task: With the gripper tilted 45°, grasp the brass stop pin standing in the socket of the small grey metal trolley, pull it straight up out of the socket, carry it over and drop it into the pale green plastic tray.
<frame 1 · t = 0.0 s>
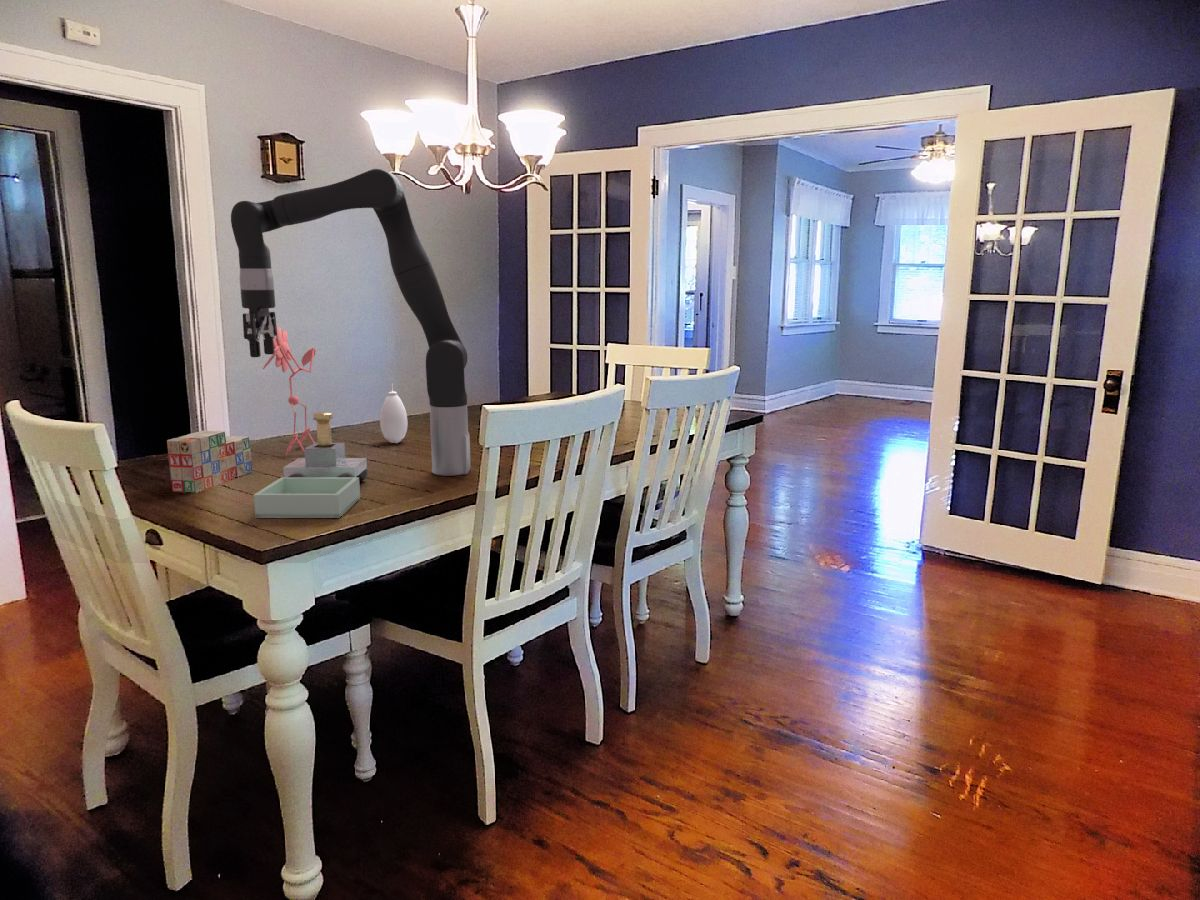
hand: (262, 355, 199), 29 cm above the table, tool pointing down, fingers open, 8 cm apart
figurine: (288, 452, 229), on the table
sauce bottle: (394, 443, 242), on the table
stack of blocks: (214, 482, 195), on the table
trolley: (327, 487, 189), on the table
tray: (310, 508, 172), on the table
stop pin: (325, 462, 188), point 6 cm above the table, touching trolley
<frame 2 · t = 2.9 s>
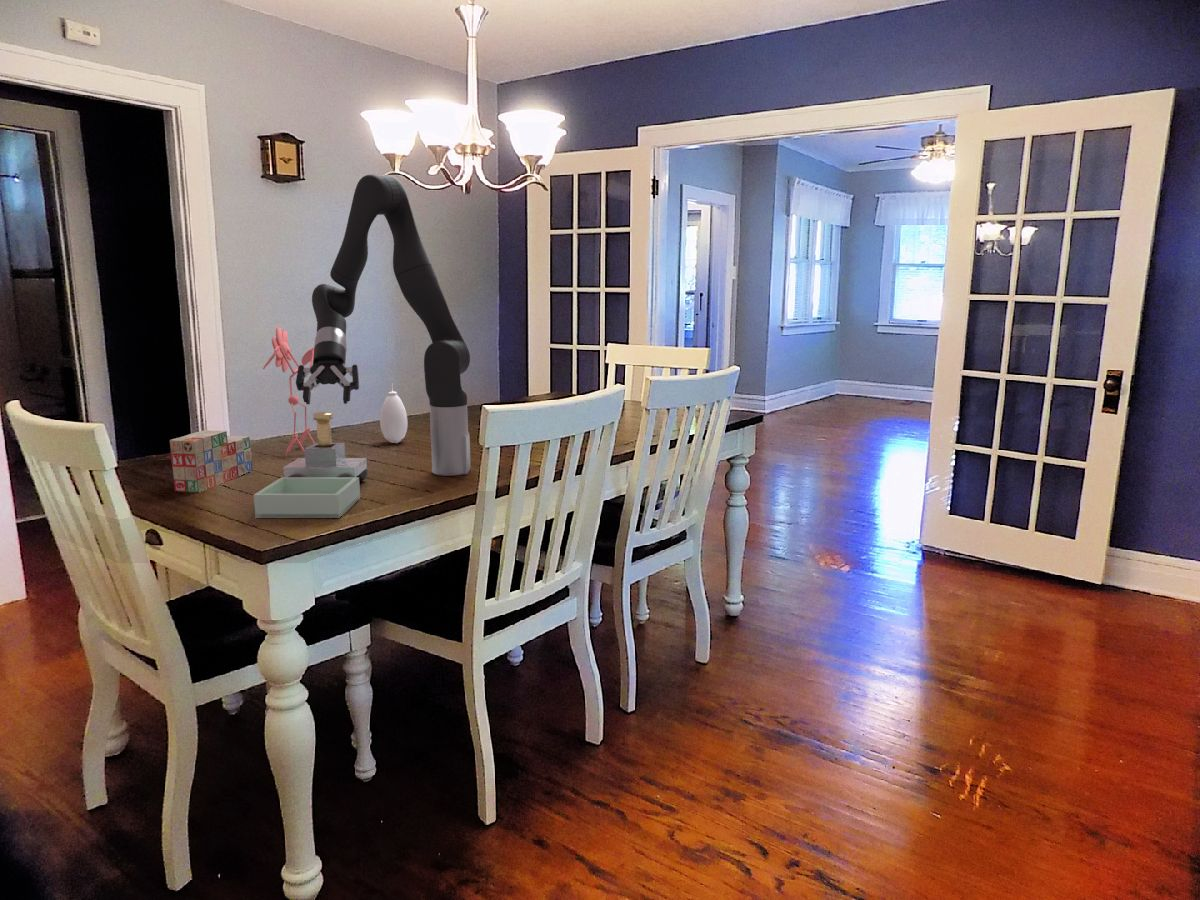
hand: (326, 402, 192), 19 cm above the table, tool tilted 45°, fingers open, 8 cm apart
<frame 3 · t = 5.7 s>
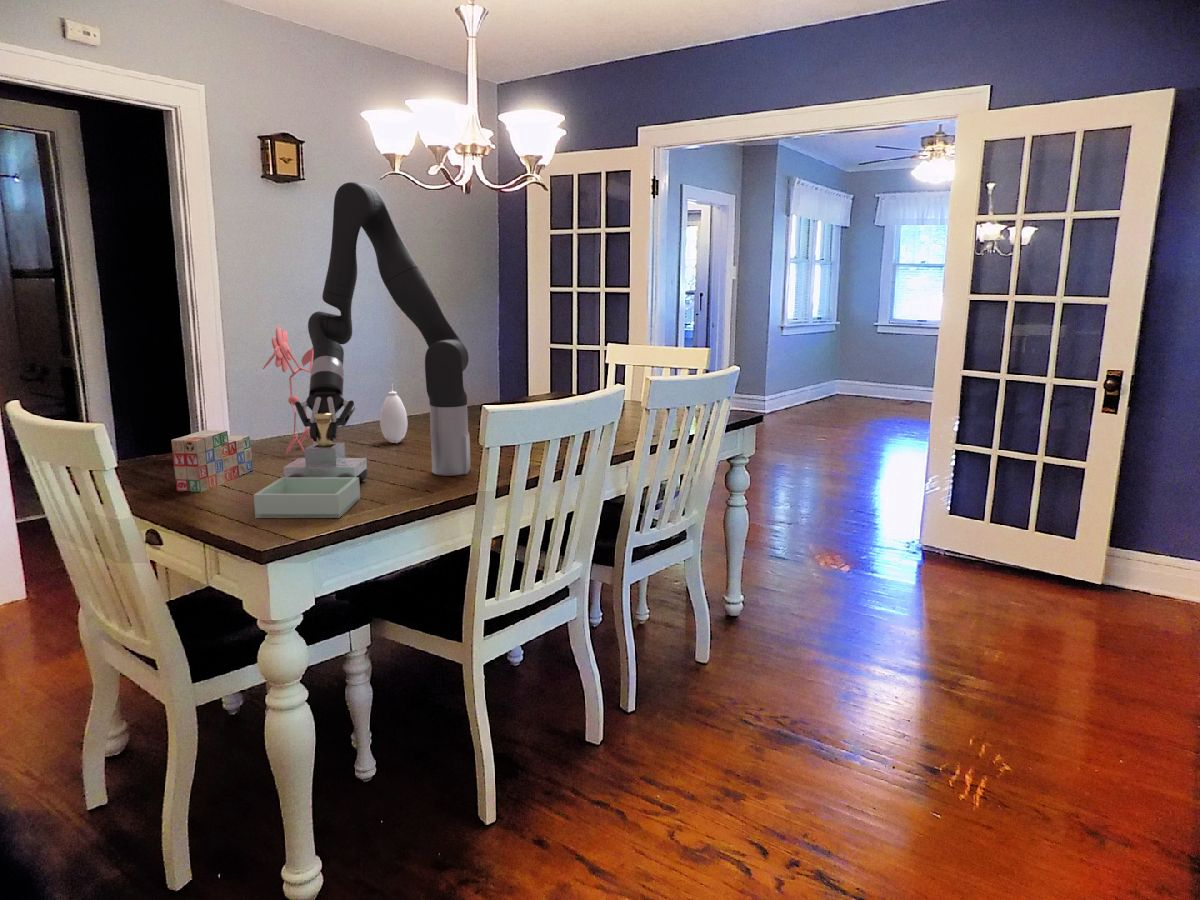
hand: (323, 438, 185), 12 cm above the table, tool tilted 45°, fingers closed on stop pin, 3 cm apart
stop pin: (325, 462, 188), point 6 cm above the table, touching gripper, trolley
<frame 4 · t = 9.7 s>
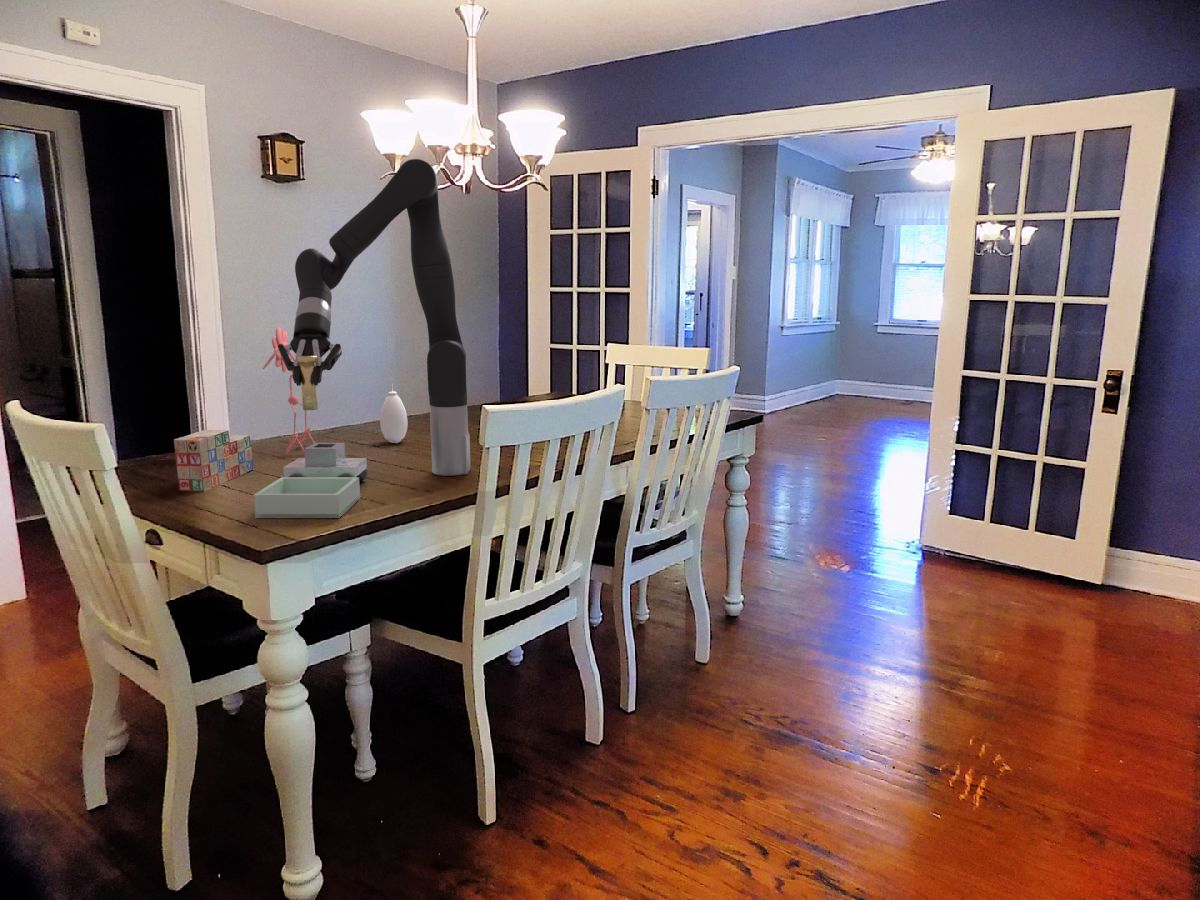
hand: (306, 383, 173), 26 cm above the table, tool tilted 45°, fingers closed on stop pin, 3 cm apart
stop pin: (310, 409, 176), point 20 cm above the table, touching gripper
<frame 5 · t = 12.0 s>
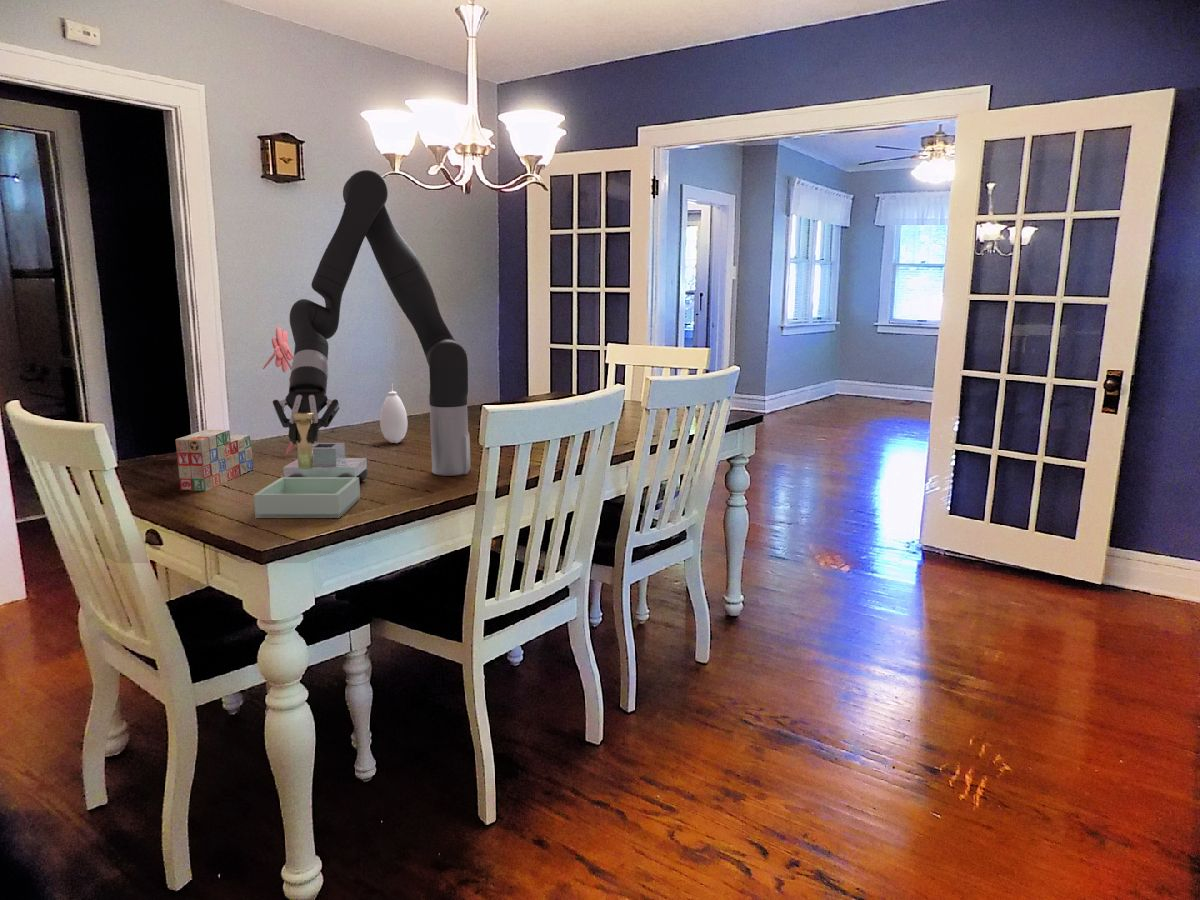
hand: (303, 441, 167), 15 cm above the table, tool tilted 45°, fingers closed on stop pin, 3 cm apart
stop pin: (306, 467, 170), point 9 cm above the table, touching gripper
when the fingers open (9 cm above the table, at t = 13.6 s): stop pin drops 1 cm and tips over, resting on tray.
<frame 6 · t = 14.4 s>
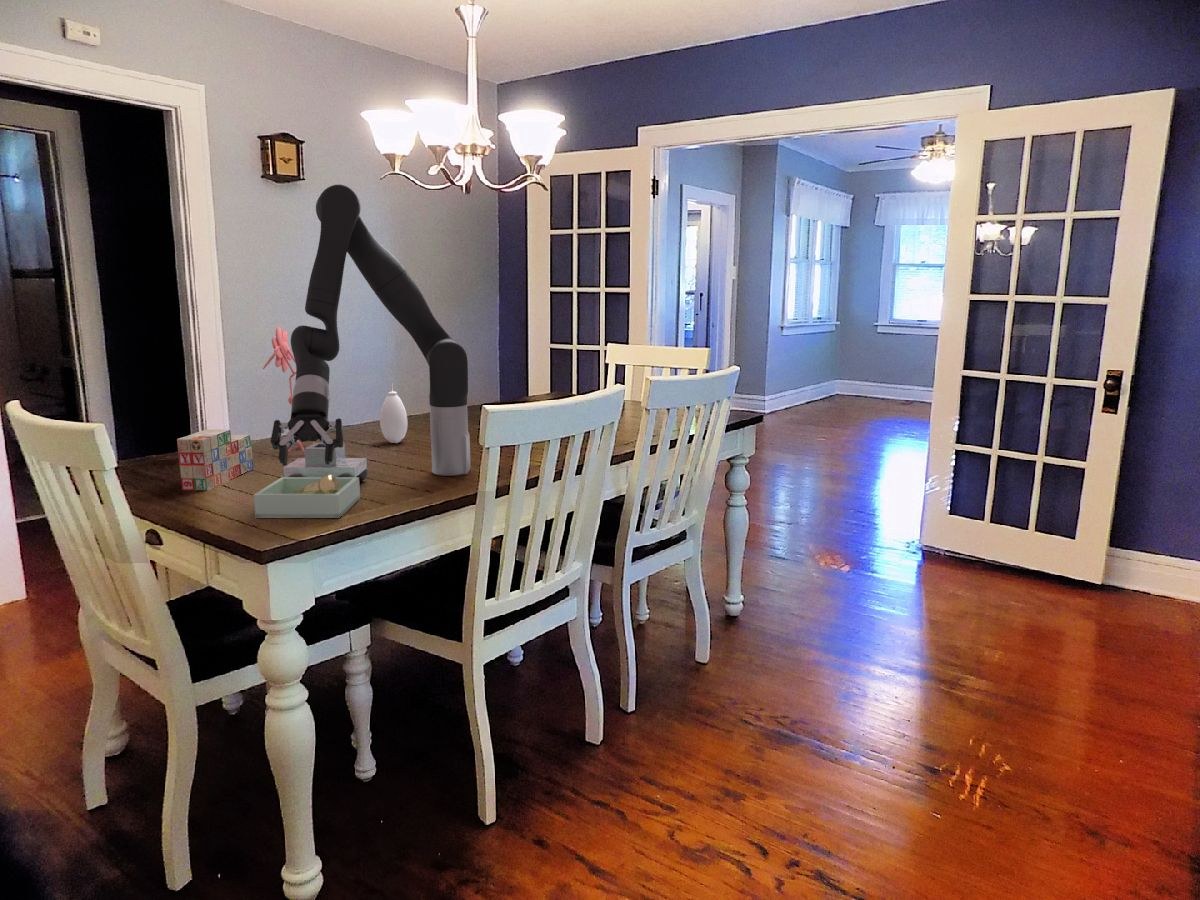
hand: (305, 463, 168), 10 cm above the table, tool tilted 45°, fingers open, 8 cm apart
stop pin: (298, 496, 172), point 2 cm above the table, tilted 70°, touching tray
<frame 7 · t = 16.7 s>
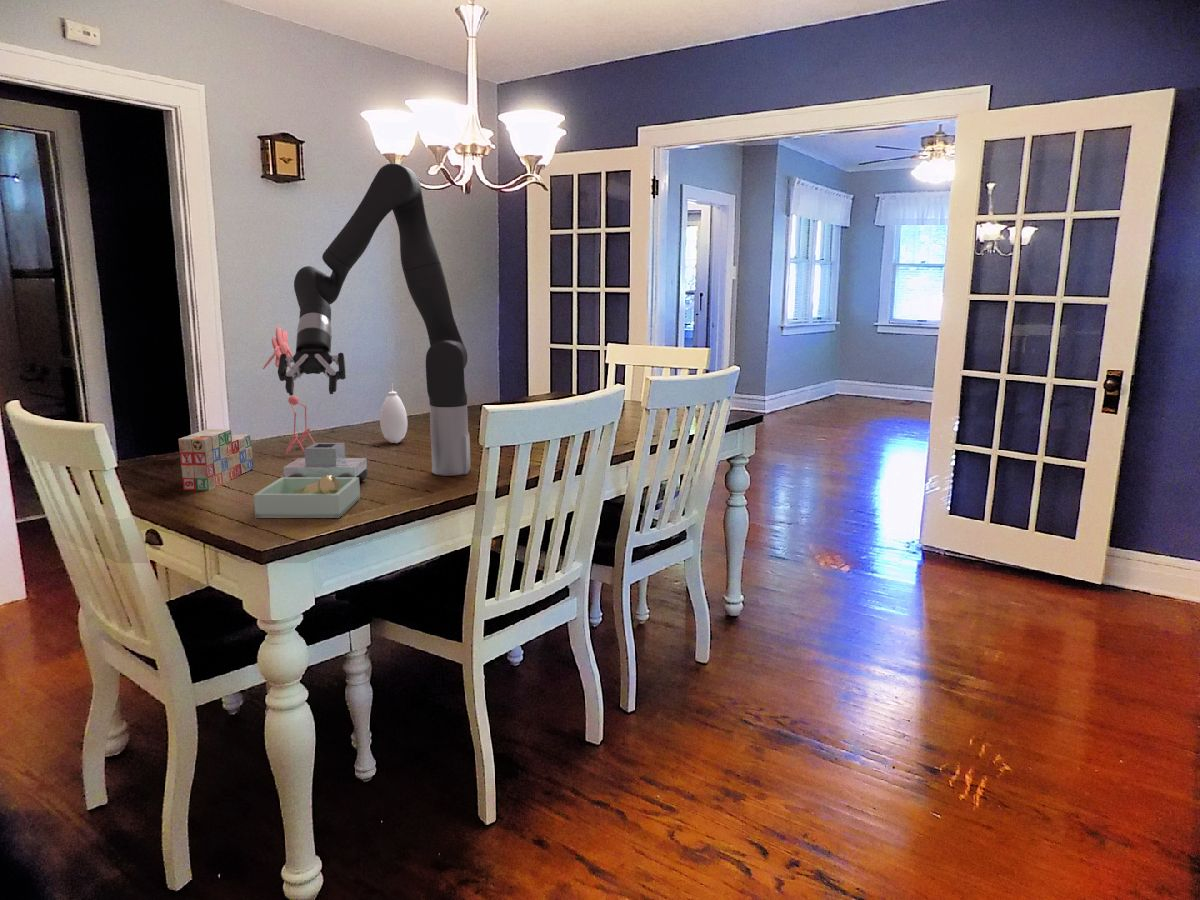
hand: (310, 392, 180), 23 cm above the table, tool tilted 45°, fingers open, 8 cm apart
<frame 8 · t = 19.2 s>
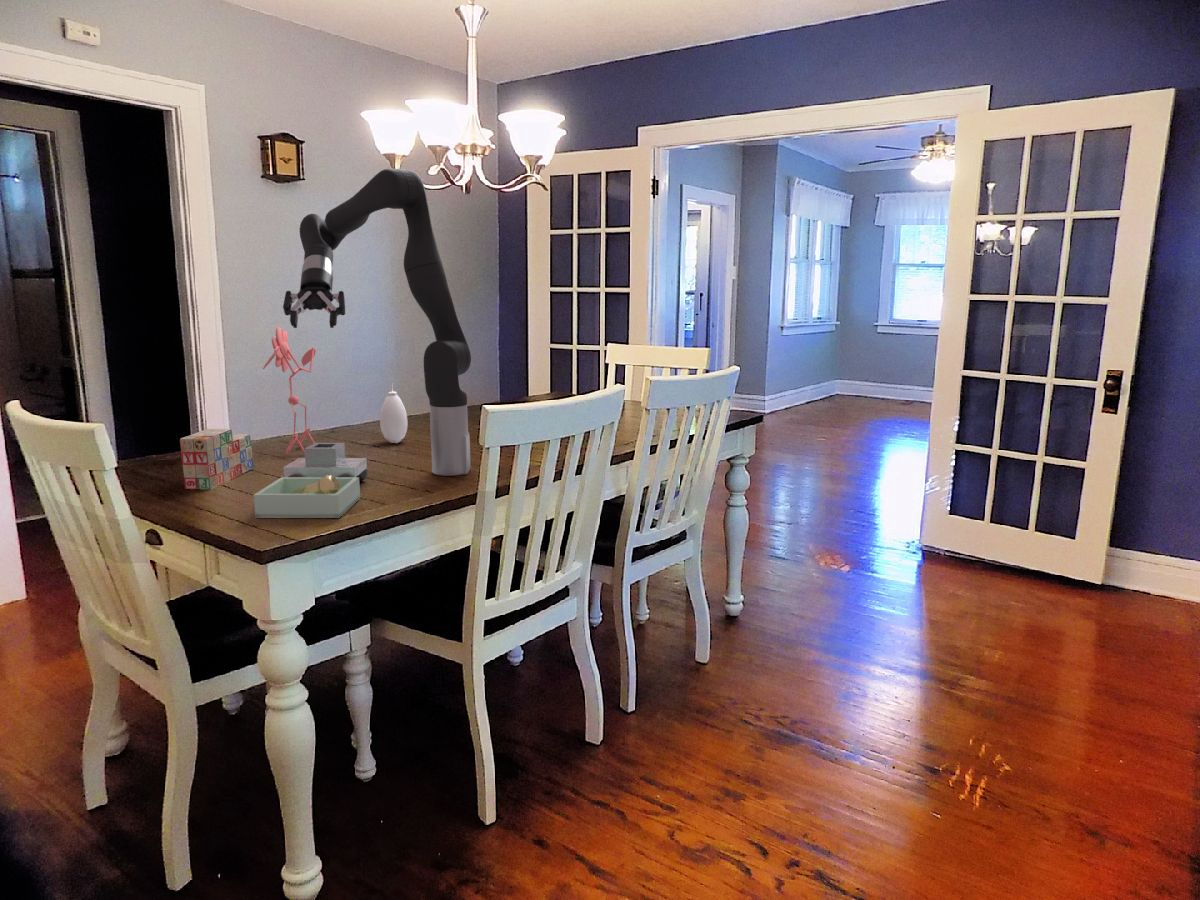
hand: (313, 325, 196), 37 cm above the table, tool tilted 45°, fingers open, 8 cm apart
at the end: stop pin inside the target area on the tray (3.0 cm from its centre), point 2.4 cm above the tray's base; the gripper is holding nothing; stop pin moved 17.2 cm from its start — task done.
